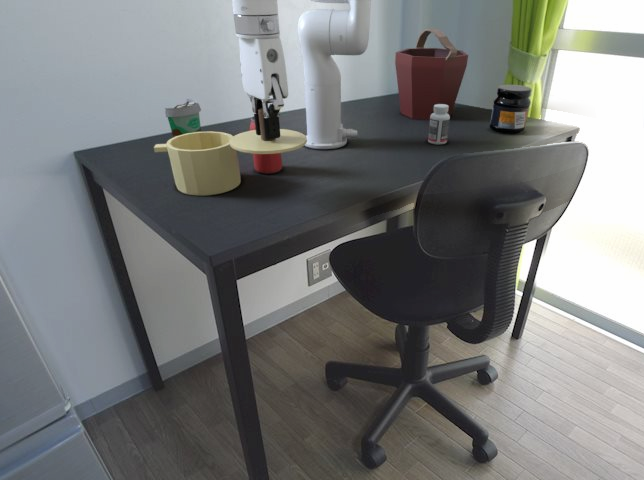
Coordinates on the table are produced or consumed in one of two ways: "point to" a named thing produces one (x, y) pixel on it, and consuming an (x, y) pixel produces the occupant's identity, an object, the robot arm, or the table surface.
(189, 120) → the food container
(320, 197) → the table surface
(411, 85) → the bucket
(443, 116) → the pill bottle
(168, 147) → the pot
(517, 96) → the supplement container
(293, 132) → the lid
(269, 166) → the beer can
